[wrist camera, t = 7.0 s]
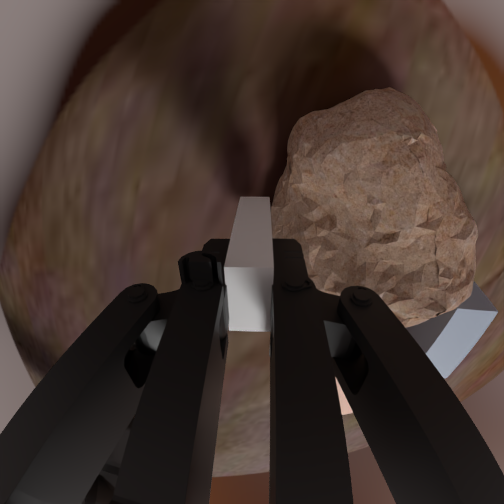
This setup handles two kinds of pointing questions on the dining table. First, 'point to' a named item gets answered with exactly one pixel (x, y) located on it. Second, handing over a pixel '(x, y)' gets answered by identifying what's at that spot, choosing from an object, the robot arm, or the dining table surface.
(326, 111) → the stone
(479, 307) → the slate block
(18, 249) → the dining table surface
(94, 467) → the robot arm
